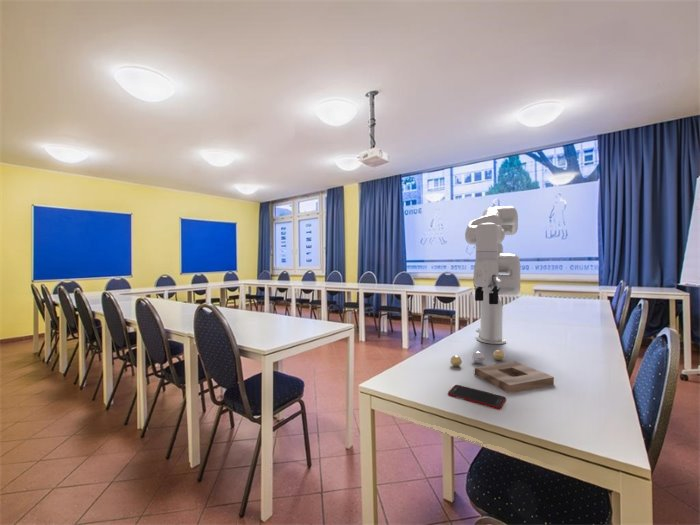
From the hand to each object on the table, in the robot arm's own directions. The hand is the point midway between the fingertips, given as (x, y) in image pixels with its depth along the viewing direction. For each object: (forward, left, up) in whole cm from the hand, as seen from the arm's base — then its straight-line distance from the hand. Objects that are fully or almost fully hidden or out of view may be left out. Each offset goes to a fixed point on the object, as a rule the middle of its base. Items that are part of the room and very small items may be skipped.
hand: (486, 302), depth 115 cm
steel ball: (-2, -2, -21) cm, 21 cm away
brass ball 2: (-2, +8, -22) cm, 23 cm away
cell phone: (+20, -22, -24) cm, 38 cm away
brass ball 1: (-2, -12, -22) cm, 25 cm away
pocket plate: (+14, -2, -24) cm, 27 cm away
